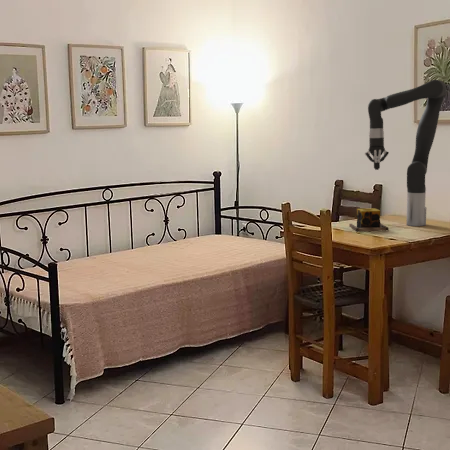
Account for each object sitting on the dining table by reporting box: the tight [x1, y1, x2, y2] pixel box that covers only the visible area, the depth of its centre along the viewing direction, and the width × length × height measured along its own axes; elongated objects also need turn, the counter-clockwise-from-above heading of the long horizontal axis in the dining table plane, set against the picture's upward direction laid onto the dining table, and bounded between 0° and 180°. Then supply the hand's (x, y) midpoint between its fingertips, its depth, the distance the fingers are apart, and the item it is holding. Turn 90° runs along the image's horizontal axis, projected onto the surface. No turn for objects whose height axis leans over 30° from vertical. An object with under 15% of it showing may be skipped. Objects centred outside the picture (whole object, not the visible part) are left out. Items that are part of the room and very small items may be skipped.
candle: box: [356, 207, 382, 228], centre depth 357 cm, size 10×10×10 cm
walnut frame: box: [348, 223, 389, 232], centre depth 358 cm, size 16×15×2 cm
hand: (376, 169), depth 374 cm, fingers closed
